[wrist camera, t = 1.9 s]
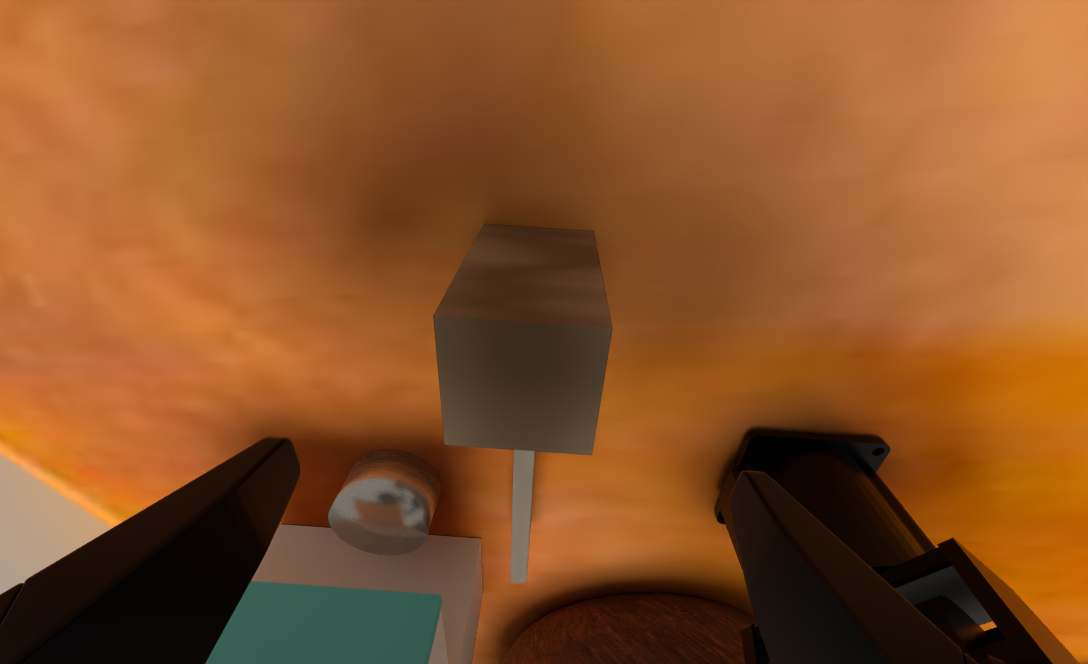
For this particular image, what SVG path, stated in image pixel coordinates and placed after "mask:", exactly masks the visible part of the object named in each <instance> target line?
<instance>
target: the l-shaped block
mask: <svg viewBox="0 0 1088 664" xmlns="http://www.w3.org/2000/svg"><path fill="white" fill-rule="evenodd" d="M482 595H483V583H482V554H481V538H467V537H453V536H438V535H427V538H426V540H425V542H424V543H423V545H422V546H421V547H419V548H418V549H416V550H415V551H413V552H410V553H407V554H403V555H393V556H387V555H377V554H372V553H368V552H365V551H362V550H359V549H357V548H355V547H353V546H351V545H349V544H347V543H346V542H344V541H343V540H342V539H340V538H339V537H338V536H337V535H336V534H335V533H334V531H333V530H332V528H325V527H311V526H297V525H283V524H281V525H280V526H279V528H278V529H277V531H276V532H275V534H274V537H273V539H272V541H271V543H270V546H269V548H268V550H267V552H266V554H265V556H264V558H263V560H262V562H261V564H260V565H259V567H258V569H257V571H256V573H255V575H254V576H253V578H252V580H251V582H250V584H249V585H248V587H247V589H246V591H245V593H244V594H243V596H242V598H241V600H240V602H239V604H238V605H237V607H236V609H235V611H234V613H233V614H232V616H231V618H230V620H229V622H228V624H227V625H226V627H225V629H224V631H223V633H222V634H221V636H220V638H219V640H218V642H217V643H216V645H215V647H214V649H213V651H212V653H211V654H210V656H209V658H208V660H207V662H206V663H205V664H472V659H473V652H474V646H475V640H476V633H477V627H478V620H479V614H480V608H481V601H482Z"/></svg>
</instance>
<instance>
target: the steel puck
mask: <svg viewBox="0 0 1088 664" xmlns="http://www.w3.org/2000/svg"><path fill="white" fill-rule="evenodd" d="M440 490H441V483H440V479H439V477H438V475H437V473H436V472H435V471H434V469H433V468H432V467H431V466H430V465H428V464H427V463H426V462H424V461H423V460H421V459H420V458H418V457H416V456H413V455H411V454H408V453H405V452H401V451H395V450H379V451H373V452H370V453H367V454H365V455H363V456H362V457H360V458H359V459H358V460H357V461H356V463H355V464H354V466H353V468H352V470H351V471H350V473H349V475H348V477H347V479H346V481H345V482H344V484H343V486H342V488H341V490H340V492H339V493H338V495H337V497H336V499H335V501H334V503H333V504H332V506H331V508H330V510H329V514H328V521H329V524H330V526H331V528H332V530H333V531H334V533H335V534H336V535H337V536H338V537H339V538H340V539H342V540H343V541H344V542H346V543H347V544H349V545H351V546H353V547H355V548H357V549H359V550H362V551H365V552H368V553H372V554H377V555H387V556H393V555H403V554H407V553H410V552H413V551H415V550H416V549H418V548H419V547H421V546H422V545H423V543H424V542H425V540H426V538H427V534H428V531H429V528H430V524H431V521H432V518H433V514H434V511H435V508H436V504H437V501H438V498H439V494H440Z"/></svg>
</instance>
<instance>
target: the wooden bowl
mask: <svg viewBox="0 0 1088 664" xmlns="http://www.w3.org/2000/svg"><path fill="white" fill-rule="evenodd" d="M750 624H754V625H757V624H758V622H757V620H755V619H753V618H752V617H750V616H748V615H746V614H745V613H743V612H741V611H739V610H736V609H734V608H732V607H729V606H726V605H724V604H720V603H717V602H713V601H710V600H705V599H701V598H696V597H690V596H684V595H674V594H659V593H636V594H621V595H612V596H605V597H599V598H594V599H590V600H585V601H581V602H578V603H574V604H571V605H568V606H565V607H563V608H560V609H558V610H556V611H553V612H551V613H549V614H547V615H545V616H544V617H542V618H540V619H539V620H537V621H536V622H534V623H533V624H532V625H531V626H529V627H528V628H527V629H526V630H525V631H524V632H523V633H522V634H520V635H519V636H518V638H517V639H516V640H515V641H514V643H513V644H512V646H511V647H510V649H509V650H508V652H507V653H506V654H505V656H504V658H503V659H502V661H501V663H500V664H745V661H744V653H743V645H742V637H741V628H743V627H745V626H747V625H750Z"/></svg>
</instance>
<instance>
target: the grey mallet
mask: <svg viewBox="0 0 1088 664" xmlns="http://www.w3.org/2000/svg"><path fill="white" fill-rule="evenodd" d="M433 319H434V330H435V341H436V352H437V363H438V374H439V385H440V397H441V408H442V419H443V430H444V441H445V445H454V446H468V447H482V448H496V449H510V450H514V466H513V503H512V539H511V575H510V582H516V583H526V580H527V566H528V553H529V540H530V526H531V512H532V496H533V480H534V465H535V451H539V452H553V453H567V454H581V455H592V452H593V445H594V439H595V433H596V427H597V421H598V415H599V408H600V402H601V396H602V390H603V384H604V378H605V371H606V365H607V359H608V353H609V347H610V340H611V334H612V323H611V318H610V313H609V308H608V303H607V298H606V293H605V287H604V282H603V277H602V272H601V267H600V262H599V257H598V252H597V247H596V242H595V237H594V231H580V230H565V229H551V228H536V227H521V226H506V225H492V224H484V225H483V227H482V229H481V231H480V232H479V234H478V236H477V238H476V240H475V241H474V243H473V245H472V247H471V249H470V250H469V252H468V254H467V256H466V258H465V259H464V261H463V263H462V265H461V267H460V268H459V270H458V272H457V274H456V276H455V277H454V279H453V281H452V283H451V285H450V286H449V288H448V290H447V292H446V294H445V296H444V297H443V299H442V301H441V303H440V305H439V306H438V308H437V310H436V312H435V314H434V315H433Z"/></svg>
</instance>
